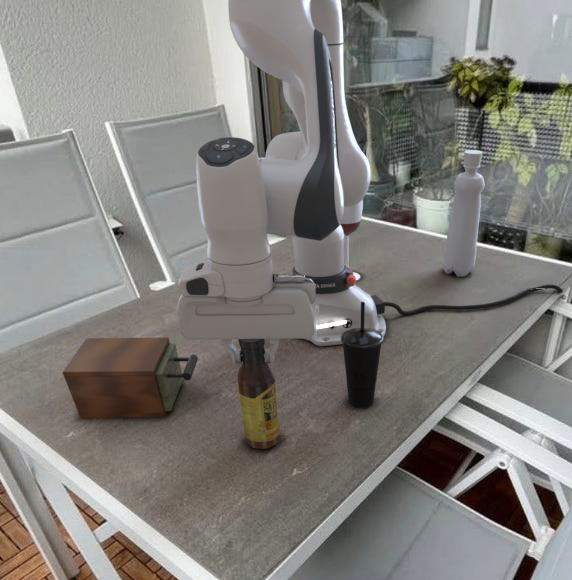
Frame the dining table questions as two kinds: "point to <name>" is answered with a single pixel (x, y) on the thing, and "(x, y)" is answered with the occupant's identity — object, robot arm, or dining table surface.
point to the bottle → (464, 218)
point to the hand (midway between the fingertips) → (253, 361)
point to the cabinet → (117, 377)
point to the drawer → (173, 374)
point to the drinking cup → (361, 362)
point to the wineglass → (351, 226)
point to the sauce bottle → (257, 396)
